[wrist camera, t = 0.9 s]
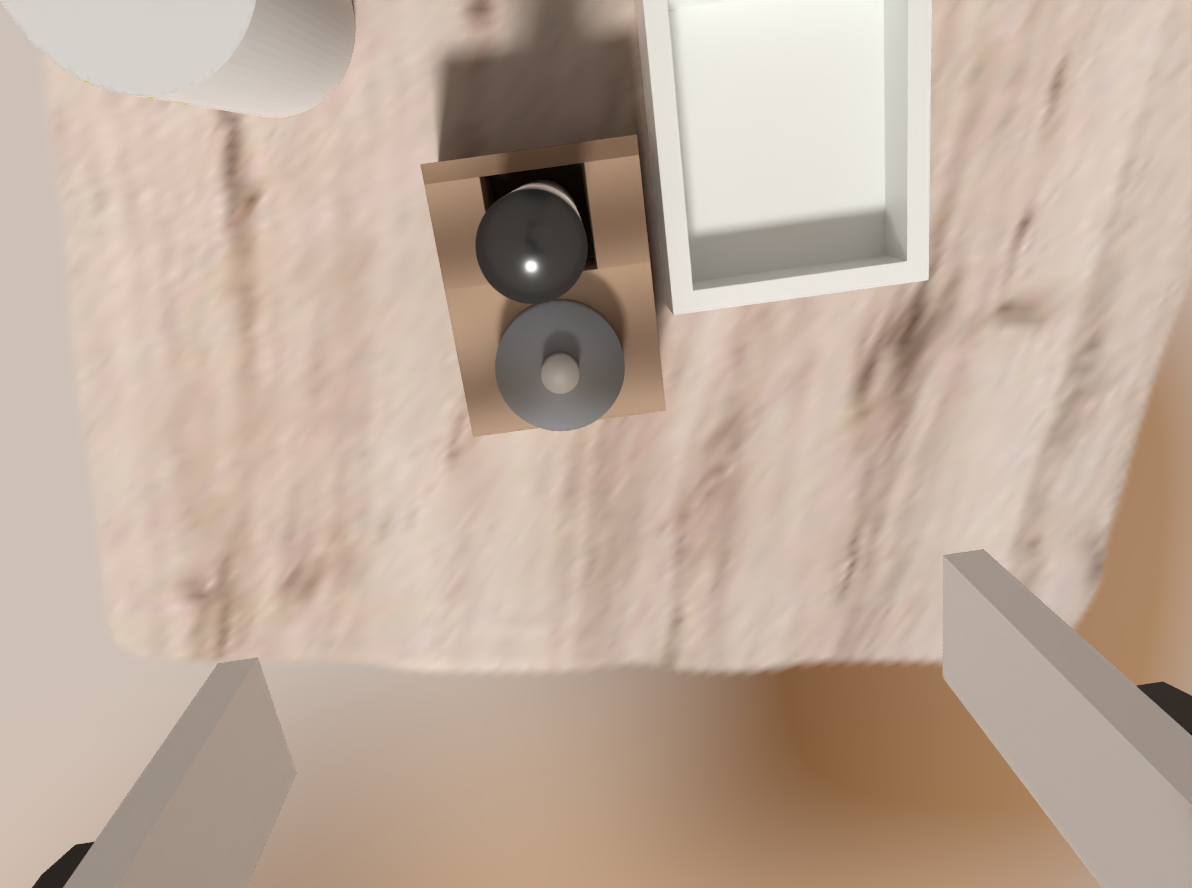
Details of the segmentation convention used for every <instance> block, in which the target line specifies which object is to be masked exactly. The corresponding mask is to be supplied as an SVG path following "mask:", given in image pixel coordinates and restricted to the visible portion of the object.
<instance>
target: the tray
mask: <svg viewBox="0 0 1192 888" xmlns="http://www.w3.org/2000/svg"><path fill="white" fill-rule="evenodd" d="M635 10H636V20H637V30H638V40H639V50H640V60H641V70H642V79H643V89H644V99H645V109H646V119H647V129H648V139H649V149H650V159H651V169H652V179H653V189H654V199H655V209H656V219H657V228H658V238H659V248H660V258H661V268H662V278H663V288H664V298H665V304H666V306H667V307H668V308H669V310H670V311H671V312H672V314H673V315H678V314H685V313H692V312H700V311H707V310H714V309H721V308H729V307H736V306H743V305H750V304H758V303H765V302H772V301H779V300H787V299H794V298H801V297H808V296H816V295H823V294H830V293H837V292H845V291H852V290H859V289H866V288H874V287H881V286H888V285H895V284H903V283H910V282H917V281H924V280H928V271H929V186H930V101H931V16H932V0H635Z"/></svg>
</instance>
